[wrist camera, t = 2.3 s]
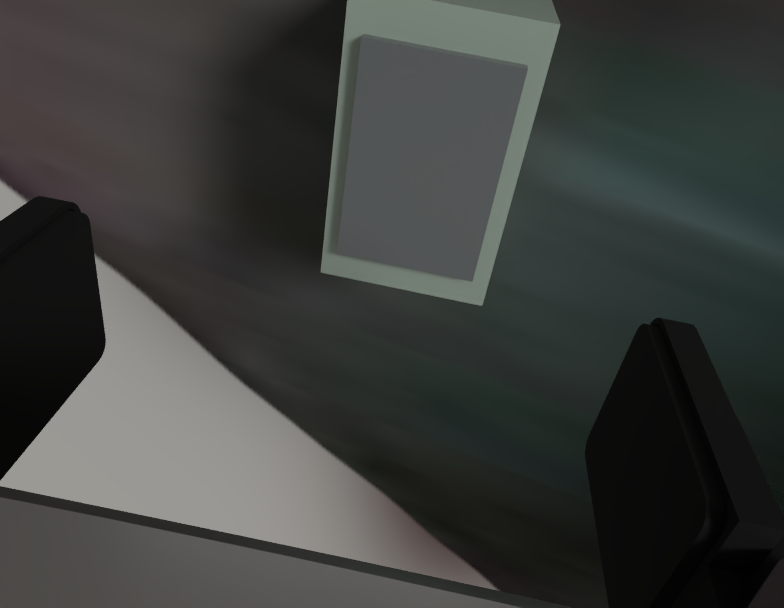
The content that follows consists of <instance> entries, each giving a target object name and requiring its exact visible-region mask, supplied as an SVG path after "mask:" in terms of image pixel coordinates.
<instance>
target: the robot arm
mask: <svg viewBox="0 0 784 608" xmlns="http://www.w3.org/2000/svg"><path fill="white" fill-rule="evenodd" d="M104 349H105V331H104V324H103V316H102V309H101V301H100V294H99V287H98V279H97V272H96V264H95V257H94V249H93V242H92V235H91V227H90V221H89V218H88V216H87V215H86V214H84V213H81V211H80V209H79V207H78V205H76V204H75V203H73V202H68V201H63V200H58V199H53V198H48V197H42V196H38V197H35V198H33V199H32V200H30V201H29V202H27V203H26V204H25V205H23V206H22V207H20V208H19V209H17V210H16V211H14V212H13V213H12V214H10V215H9V216H7V217H6V218H4V219H3V220H1V221H0V480H1V479H2V478H3V477H4V475H5V474H6V473H7V472H8V470H9V469H10V468H11V467H12V466H13V464H14V463H15V462H16V461H17V460H18V458H19V457H20V456H21V455H22V453H23V452H24V451H25V450H26V448H27V447H28V446H29V445H30V444H31V442H32V441H33V440H34V439H35V438H36V436H37V435H38V434H39V433H40V432H41V430H42V429H43V428H44V427H45V426H46V424H47V423H48V422H49V421H50V419H51V418H52V417H53V416H54V415H55V413H56V412H57V411H58V410H59V409H60V407H61V406H62V405H63V404H64V402H65V401H66V400H67V398H68V397H69V396H70V395H71V394H72V393H73V391H74V390H75V389H76V388H77V387H78V385H79V384H80V383H81V382H82V380H83V379H84V378H85V377H86V376H87V374H88V373H89V372H90V371H91V370H92V368H93V367H94V366H95V365H96V363H97V362H98V361H99V360H100V358H101V356H102V354H103V352H104ZM585 459H586V465H587V472H588V478H589V484H590V491H591V497H592V503H593V510H594V516H595V522H596V528H597V535H598V541H599V547H600V554H601V560H602V566H603V572H604V579H605V585H606V591H607V598H608V604H609V608H784V518H783V516H782V514H781V512H780V510H779V507H778V505H777V503H776V501H775V499H774V496H773V494H772V492H771V490H770V488H769V485H768V483H767V481H766V479H765V477H764V474H763V472H762V470H761V468H760V466H759V463H758V461H757V459H756V457H755V455H754V452H753V450H752V448H751V446H750V444H749V441H748V439H747V437H746V435H745V433H744V430H743V428H742V426H741V424H740V422H739V421H738V419H737V417H736V415H735V413H734V411H733V408H732V406H731V404H730V402H729V400H728V397H727V395H726V393H725V391H724V389H723V386H722V384H721V382H720V380H719V378H718V375H717V373H716V371H715V369H714V367H713V364H712V362H711V360H710V358H709V355H708V353H707V351H706V349H705V347H704V344H703V342H702V340H701V338H700V336H699V333H698V331H697V329H696V328H695V326H694V325H692V324H688V323H683V322H678V321H673V320H667V319H662V318H656V319H654V320H653V321H652V322H651V324H650V325H648V324H642V325H641V326H640V327H639V328H638V330H637V332H636V334H635V336H634V338H633V340H632V343H631V345H630V347H629V349H628V351H627V354H626V356H625V358H624V360H623V362H622V364H621V367H620V369H619V371H618V373H617V375H616V378H615V380H614V382H613V384H612V386H611V389H610V391H609V393H608V395H607V397H606V399H605V402H604V404H603V406H602V408H601V410H600V413H599V415H598V417H597V419H596V421H595V424H594V426H593V428H592V430H591V432H590V434H589V437H588V440H587V444H586V450H585ZM0 608H572V607H567V606H563V605H559V604H554V603H550V602H546V601H542V600H537V599H533V598H529V597H524V596H520V595H515V594H510V593H506V592H501V591H496V590H492V589H487V588H482V587H478V586H473V585H468V584H464V583H459V582H455V581H450V580H445V579H441V578H436V577H431V576H427V575H422V574H417V573H413V572H408V571H403V570H399V569H394V568H390V567H385V566H380V565H376V564H371V563H366V562H362V561H357V560H352V559H348V558H343V557H338V556H334V555H329V554H324V553H319V552H315V551H310V550H305V549H300V548H296V547H291V546H286V545H281V544H277V543H272V542H267V541H263V540H258V539H253V538H248V537H244V536H239V535H234V534H229V533H224V532H219V531H214V530H210V529H205V528H200V527H195V526H191V525H186V524H181V523H177V522H172V521H167V520H162V519H157V518H152V517H147V516H143V515H138V514H133V513H128V512H124V511H119V510H113V509H109V508H104V507H99V506H94V505H89V504H84V503H79V502H74V501H70V500H65V499H60V498H55V497H50V496H45V495H40V494H35V493H30V492H26V491H21V490H16V489H11V488H6V487H1V486H0Z"/></svg>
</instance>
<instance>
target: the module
mask: <svg viewBox="0 0 784 608" xmlns="http://www.w3.org/2000/svg"><path fill="white" fill-rule="evenodd" d="M559 28H560V22H559V19H558V17H557V14H556V11H555V8H554V5H553V3H552V0H347V8H346V18H345V28H344V39H343V49H342V59H341V69H340V79H339V90H338V100H337V110H336V120H335V131H334V141H333V151H332V161H331V171H330V182H329V192H328V202H327V212H326V222H325V233H324V243H323V253H322V263H321V273H326V274H331V275H335V276H340V277H345V278H350V279H355V280H360V281H364V282H369V283H374V284H379V285H384V286H388V287H393V288H398V289H403V290H408V291H413V292H417V293H422V294H427V295H432V296H437V297H441V298H446V299H451V300H456V301H461V302H466V303H470V304H475V305H480V306H482V305H483V301H484V298H485V294H486V291H487V287H488V283H489V280H490V276H491V273H492V269H493V265H494V262H495V258H496V255H497V251H498V247H499V244H500V240H501V237H502V233H503V229H504V226H505V222H506V219H507V215H508V211H509V208H510V204H511V201H512V197H513V194H514V190H515V186H516V183H517V179H518V176H519V172H520V168H521V165H522V161H523V158H524V154H525V150H526V147H527V143H528V140H529V136H530V132H531V129H532V125H533V122H534V118H535V114H536V111H537V107H538V104H539V100H540V96H541V93H542V89H543V86H544V82H545V78H546V75H547V71H548V68H549V64H550V61H551V57H552V53H553V50H554V46H555V43H556V39H557V35H558V32H559Z"/></svg>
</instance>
